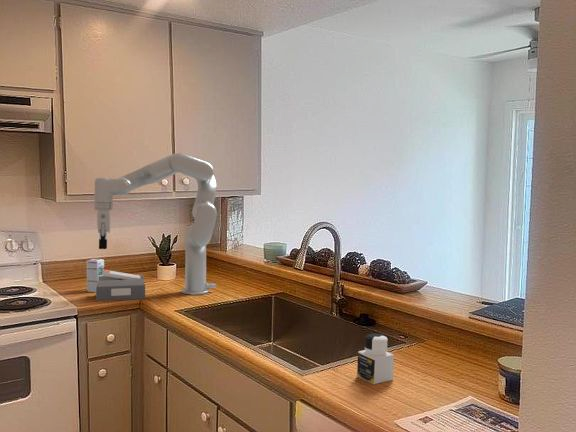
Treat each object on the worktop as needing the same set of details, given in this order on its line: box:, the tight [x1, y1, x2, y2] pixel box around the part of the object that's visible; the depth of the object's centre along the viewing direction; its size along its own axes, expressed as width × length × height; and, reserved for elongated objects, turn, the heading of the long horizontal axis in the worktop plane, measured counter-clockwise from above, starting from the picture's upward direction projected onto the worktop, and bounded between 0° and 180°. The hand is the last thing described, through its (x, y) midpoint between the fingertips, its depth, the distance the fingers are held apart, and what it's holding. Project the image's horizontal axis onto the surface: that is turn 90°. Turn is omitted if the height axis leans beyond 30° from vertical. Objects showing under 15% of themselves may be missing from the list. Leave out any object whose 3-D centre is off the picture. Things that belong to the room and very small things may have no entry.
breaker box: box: [95, 274, 146, 302], centre depth 239 cm, size 20×12×8 cm, turn 107°
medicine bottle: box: [356, 333, 395, 385], centre depth 149 cm, size 7×7×12 cm
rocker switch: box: [102, 268, 140, 280], centre depth 238 cm, size 16×7×2 cm, turn 108°
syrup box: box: [86, 258, 105, 293], centre depth 249 cm, size 6×6×14 cm
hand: (102, 248), depth 235 cm, fingers closed
